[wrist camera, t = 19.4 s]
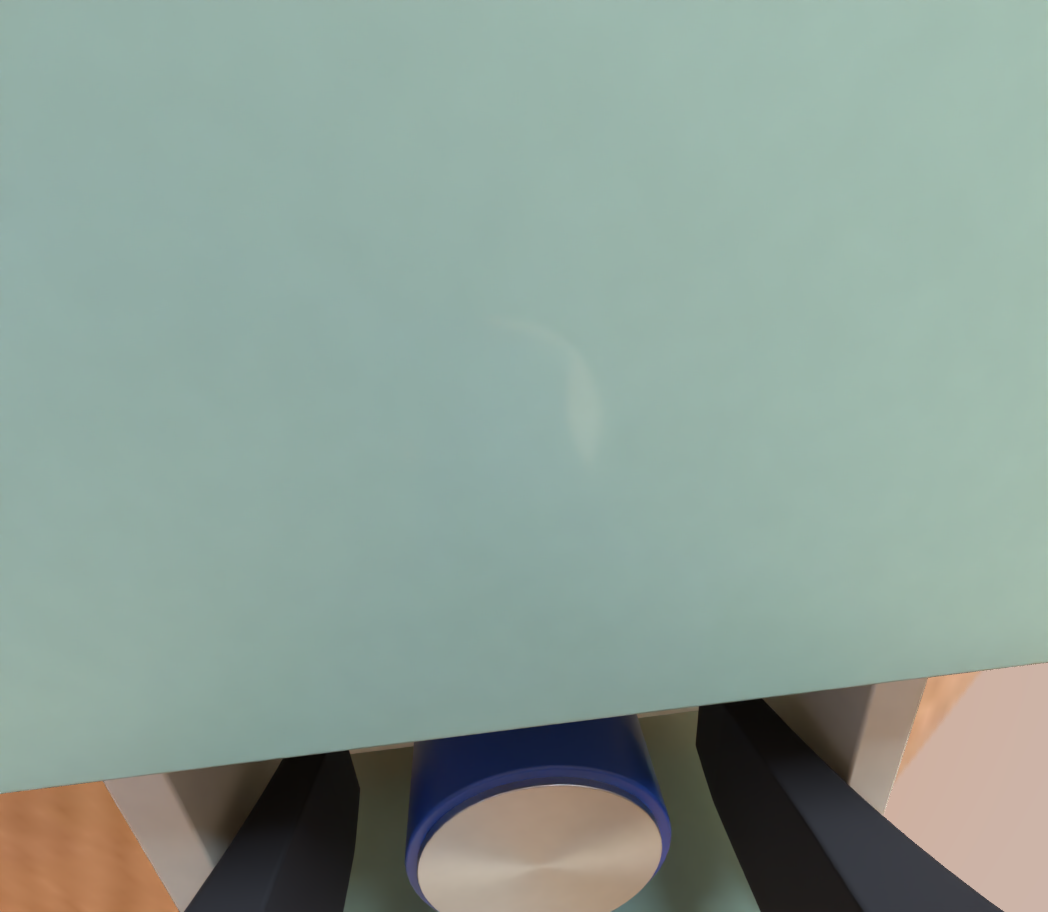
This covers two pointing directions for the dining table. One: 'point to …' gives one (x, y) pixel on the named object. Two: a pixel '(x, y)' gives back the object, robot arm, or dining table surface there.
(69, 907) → the dining table surface
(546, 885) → the can
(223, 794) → the drawer
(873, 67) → the cabinet
